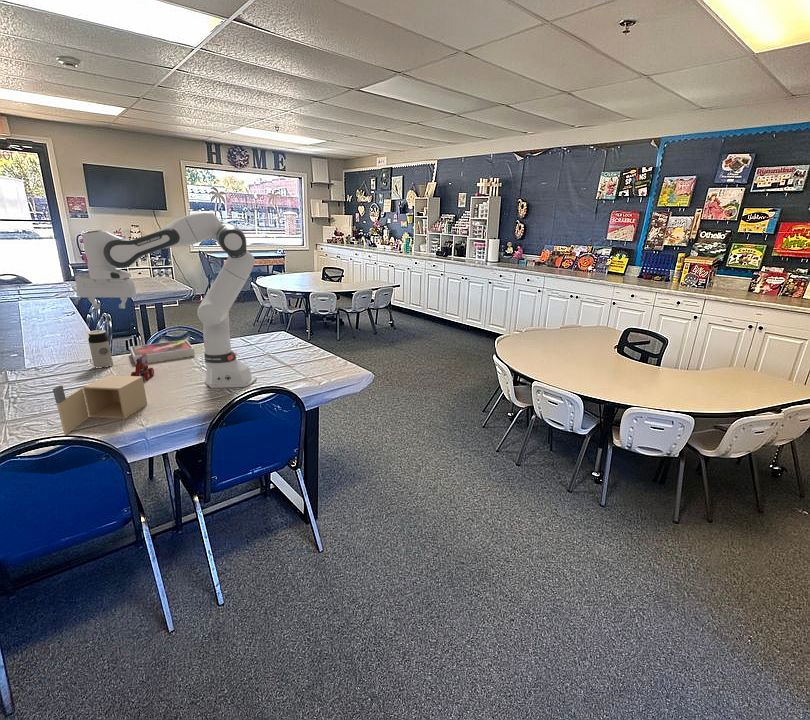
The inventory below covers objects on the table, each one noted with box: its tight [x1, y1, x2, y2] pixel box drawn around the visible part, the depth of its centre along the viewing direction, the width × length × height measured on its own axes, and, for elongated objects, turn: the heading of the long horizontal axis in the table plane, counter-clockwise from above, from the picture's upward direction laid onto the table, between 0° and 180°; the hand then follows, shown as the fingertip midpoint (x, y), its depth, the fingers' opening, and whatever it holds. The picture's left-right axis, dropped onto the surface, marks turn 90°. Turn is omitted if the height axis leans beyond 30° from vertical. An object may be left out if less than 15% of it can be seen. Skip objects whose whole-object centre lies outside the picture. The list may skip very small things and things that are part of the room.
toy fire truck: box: [130, 354, 155, 381], centre depth 198 cm, size 7×12×10 cm, turn 11°
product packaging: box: [129, 339, 196, 365], centre depth 232 cm, size 22×28×5 cm
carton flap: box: [52, 385, 90, 436], centre depth 149 cm, size 14×1×17 cm, turn 9°
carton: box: [82, 374, 148, 419], centre depth 163 cm, size 14×13×12 cm
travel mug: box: [87, 329, 114, 368], centre depth 211 cm, size 8×8×18 cm
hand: (109, 308), depth 169 cm, fingers open, 8 cm apart
